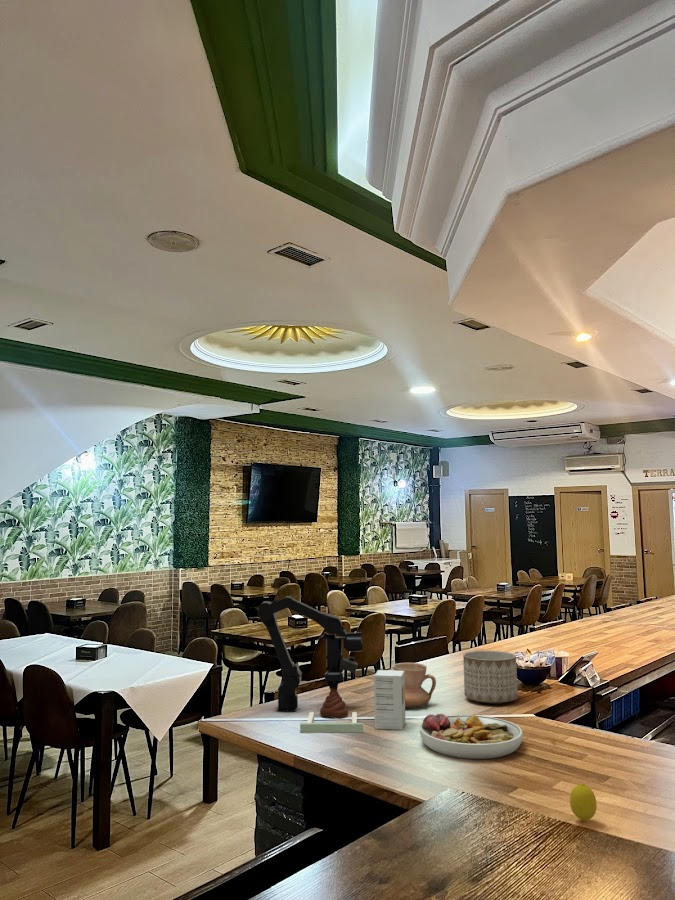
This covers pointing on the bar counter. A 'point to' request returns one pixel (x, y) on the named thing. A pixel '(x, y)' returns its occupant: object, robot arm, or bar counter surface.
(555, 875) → the bar counter surface
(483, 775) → the bar counter surface
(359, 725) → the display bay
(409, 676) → the ceramic jug
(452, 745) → the bowl
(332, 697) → the poop emoji
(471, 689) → the planter
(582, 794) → the lemon
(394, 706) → the supplement box
